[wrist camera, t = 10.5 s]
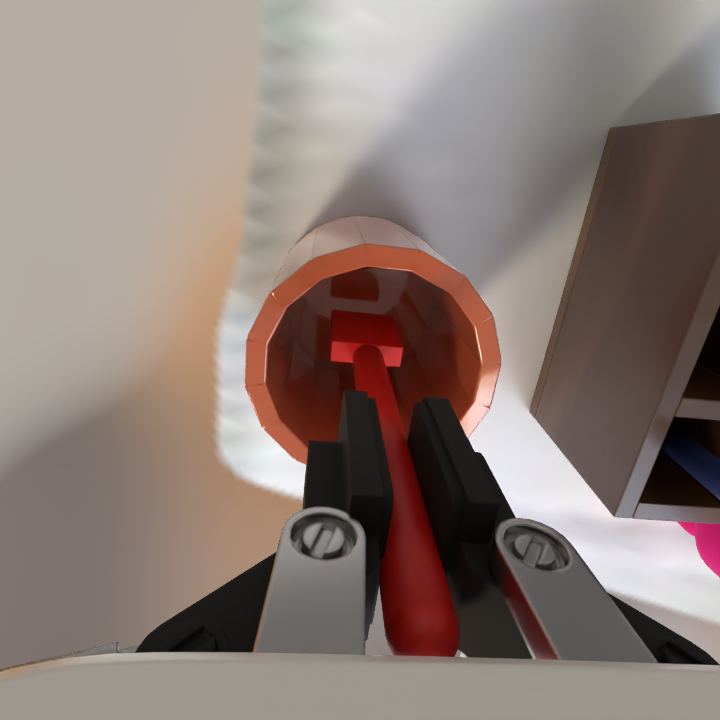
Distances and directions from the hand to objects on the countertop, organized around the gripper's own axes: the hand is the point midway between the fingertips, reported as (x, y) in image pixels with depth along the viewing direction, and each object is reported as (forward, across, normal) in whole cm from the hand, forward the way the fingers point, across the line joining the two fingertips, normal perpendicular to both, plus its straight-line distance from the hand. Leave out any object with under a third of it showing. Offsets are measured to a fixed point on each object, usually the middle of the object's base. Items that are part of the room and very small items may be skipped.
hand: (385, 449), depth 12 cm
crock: (+14, 0, 0) cm, 14 cm away
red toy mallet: (+10, 0, 0) cm, 10 cm away
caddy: (+13, -13, -2) cm, 19 cm away
